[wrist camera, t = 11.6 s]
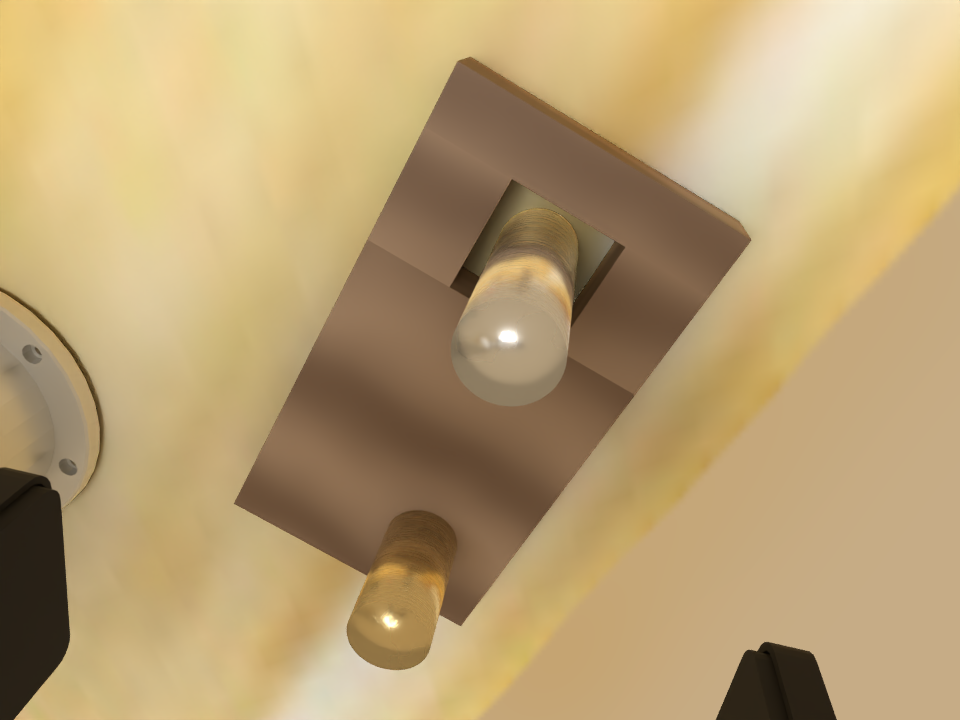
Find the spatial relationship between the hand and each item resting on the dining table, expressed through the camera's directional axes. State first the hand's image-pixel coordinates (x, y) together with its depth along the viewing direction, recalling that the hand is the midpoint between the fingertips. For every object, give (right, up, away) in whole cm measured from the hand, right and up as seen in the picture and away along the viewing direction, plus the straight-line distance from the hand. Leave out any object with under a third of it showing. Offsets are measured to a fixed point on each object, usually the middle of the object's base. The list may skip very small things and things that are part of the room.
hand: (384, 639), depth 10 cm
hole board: (+1, +4, +21) cm, 21 cm away
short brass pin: (-1, -4, +22) cm, 22 cm away
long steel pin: (+3, +8, +19) cm, 21 cm away
